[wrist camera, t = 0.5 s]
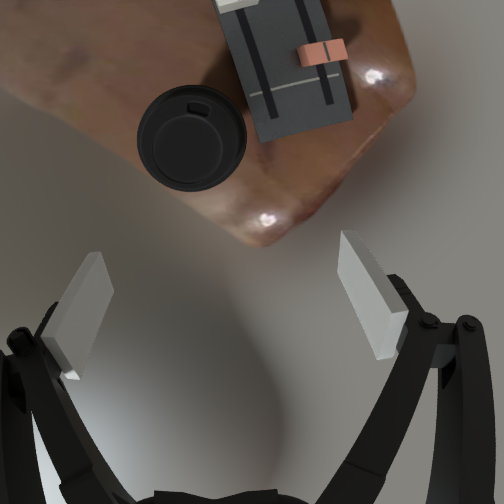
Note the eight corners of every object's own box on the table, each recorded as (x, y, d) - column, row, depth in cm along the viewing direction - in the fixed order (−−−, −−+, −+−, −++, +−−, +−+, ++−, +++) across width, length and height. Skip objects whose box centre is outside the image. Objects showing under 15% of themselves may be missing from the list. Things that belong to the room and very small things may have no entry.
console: (201, -28, 27) (199, -33, 25) (295, -48, 25) (299, -53, 24) (259, 140, 39) (260, 143, 37) (347, 117, 37) (353, 119, 36)
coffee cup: (234, 77, 34) (237, 74, 21) (247, 149, 39) (256, 187, 26) (158, 93, 35) (119, 103, 22) (174, 163, 39) (148, 208, 26)
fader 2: (296, 48, 31) (303, 45, 27) (331, 42, 30) (342, 38, 27) (301, 67, 32) (310, 65, 29) (336, 60, 32) (348, 58, 28)
